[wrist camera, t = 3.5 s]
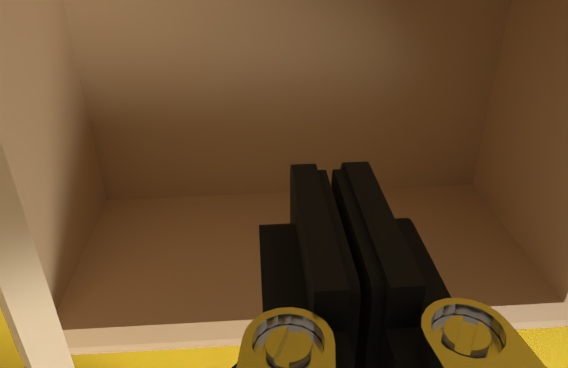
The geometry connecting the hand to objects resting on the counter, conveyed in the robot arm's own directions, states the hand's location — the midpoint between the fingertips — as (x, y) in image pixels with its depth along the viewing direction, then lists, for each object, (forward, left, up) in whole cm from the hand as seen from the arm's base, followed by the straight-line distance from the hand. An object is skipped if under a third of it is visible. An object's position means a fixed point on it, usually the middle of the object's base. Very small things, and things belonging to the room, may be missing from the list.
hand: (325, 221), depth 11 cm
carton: (0, 0, -10) cm, 10 cm away
